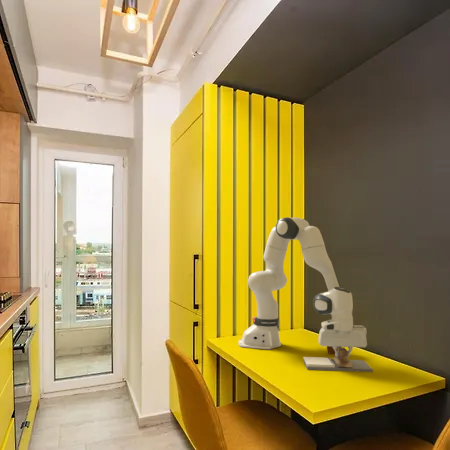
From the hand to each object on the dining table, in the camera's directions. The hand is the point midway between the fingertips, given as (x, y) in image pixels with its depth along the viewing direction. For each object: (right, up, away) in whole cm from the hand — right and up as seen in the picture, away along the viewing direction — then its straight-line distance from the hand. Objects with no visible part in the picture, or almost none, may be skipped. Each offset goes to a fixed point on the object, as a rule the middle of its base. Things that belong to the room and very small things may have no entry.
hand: (342, 356), depth 156 cm
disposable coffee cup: (+2, -6, +19) cm, 20 cm away
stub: (0, -3, 0) cm, 3 cm away
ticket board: (-3, -4, 0) cm, 5 cm away
